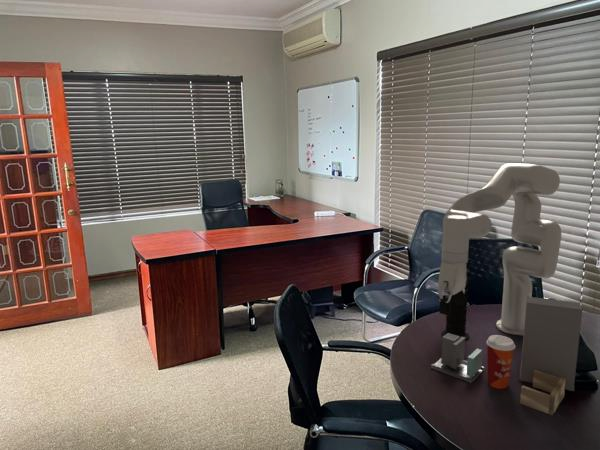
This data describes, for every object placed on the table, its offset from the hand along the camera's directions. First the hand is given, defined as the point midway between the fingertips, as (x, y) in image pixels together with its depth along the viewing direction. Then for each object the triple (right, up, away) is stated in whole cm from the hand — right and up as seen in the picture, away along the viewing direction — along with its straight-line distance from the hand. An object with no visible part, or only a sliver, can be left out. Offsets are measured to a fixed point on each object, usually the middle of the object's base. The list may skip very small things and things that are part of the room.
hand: (451, 309), depth 136 cm
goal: (+20, -22, -14) cm, 33 cm away
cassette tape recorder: (+26, -21, -5) cm, 34 cm away
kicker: (+3, -18, +2) cm, 19 cm away
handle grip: (+10, -15, +25) cm, 31 cm away
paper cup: (+12, -21, -6) cm, 25 cm away
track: (+3, -19, +3) cm, 20 cm away
